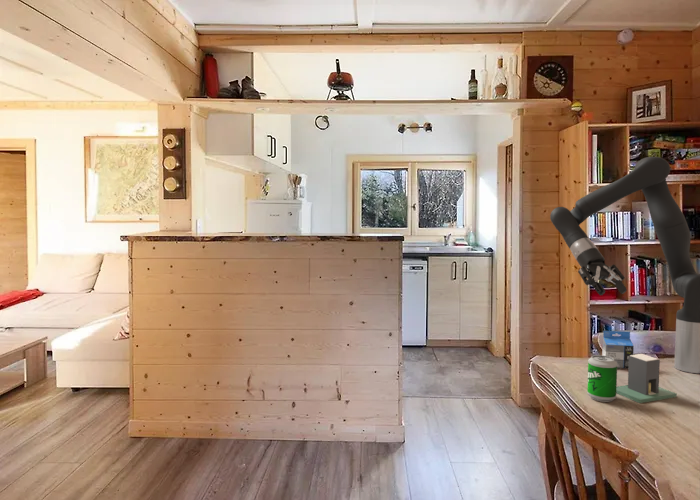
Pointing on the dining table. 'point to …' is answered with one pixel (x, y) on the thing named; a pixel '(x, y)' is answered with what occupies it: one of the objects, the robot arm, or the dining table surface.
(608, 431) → the dining table surface
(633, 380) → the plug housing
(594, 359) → the soda can
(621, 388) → the board
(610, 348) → the blue retail box
